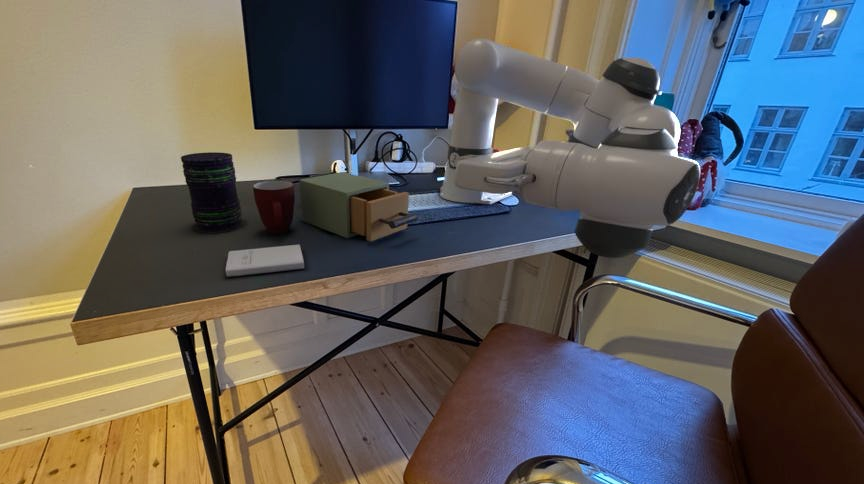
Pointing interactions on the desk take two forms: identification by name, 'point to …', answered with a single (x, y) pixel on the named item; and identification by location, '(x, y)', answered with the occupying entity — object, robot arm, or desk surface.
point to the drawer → (379, 213)
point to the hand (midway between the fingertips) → (462, 160)
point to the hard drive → (264, 260)
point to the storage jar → (212, 191)
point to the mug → (275, 204)
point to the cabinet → (333, 200)
